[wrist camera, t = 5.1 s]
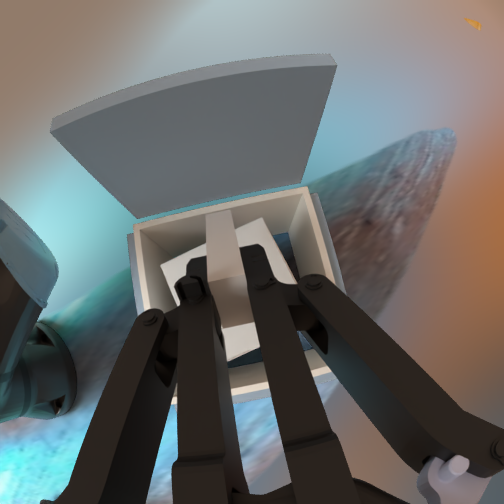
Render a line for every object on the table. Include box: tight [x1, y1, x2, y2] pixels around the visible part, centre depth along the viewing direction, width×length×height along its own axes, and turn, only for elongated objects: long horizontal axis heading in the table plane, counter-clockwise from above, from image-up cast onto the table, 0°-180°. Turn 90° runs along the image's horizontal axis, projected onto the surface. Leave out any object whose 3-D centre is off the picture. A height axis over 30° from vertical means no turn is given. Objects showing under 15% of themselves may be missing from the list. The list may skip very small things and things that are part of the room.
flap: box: [50, 54, 337, 219], centre depth 19 cm, size 1×15×14 cm, turn 103°
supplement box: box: [161, 217, 297, 362], centre depth 28 cm, size 9×9×15 cm
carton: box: [127, 186, 347, 412], centre depth 29 cm, size 17×18×12 cm
